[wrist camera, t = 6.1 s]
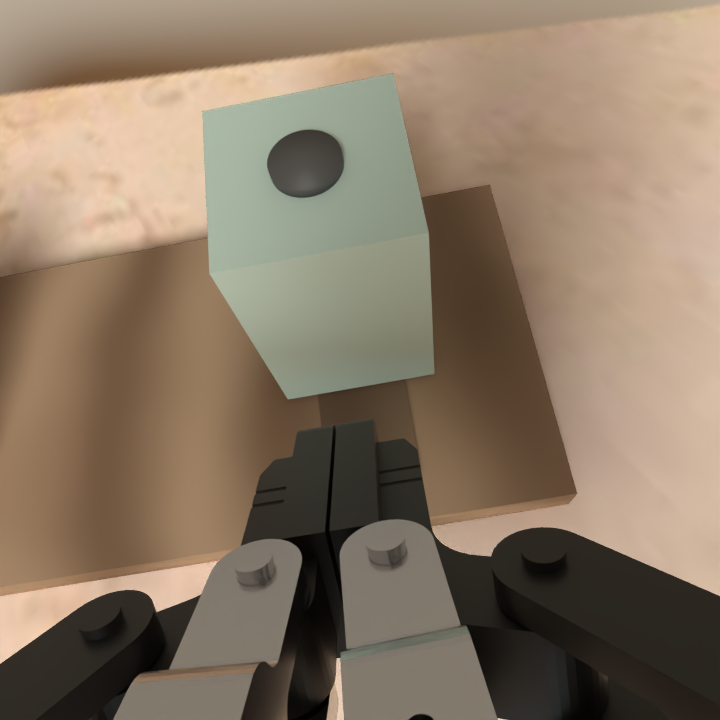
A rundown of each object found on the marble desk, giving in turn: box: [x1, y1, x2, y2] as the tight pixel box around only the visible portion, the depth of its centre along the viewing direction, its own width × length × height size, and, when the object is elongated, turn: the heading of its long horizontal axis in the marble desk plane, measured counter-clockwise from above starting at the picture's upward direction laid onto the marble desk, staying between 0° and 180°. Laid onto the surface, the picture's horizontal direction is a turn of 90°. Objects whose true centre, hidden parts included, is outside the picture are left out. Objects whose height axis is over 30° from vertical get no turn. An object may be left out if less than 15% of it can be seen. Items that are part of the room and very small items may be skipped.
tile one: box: [202, 73, 435, 399], centre depth 19 cm, size 5×5×8 cm
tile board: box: [0, 185, 577, 596], centre depth 23 cm, size 28×12×2 cm, turn 98°
